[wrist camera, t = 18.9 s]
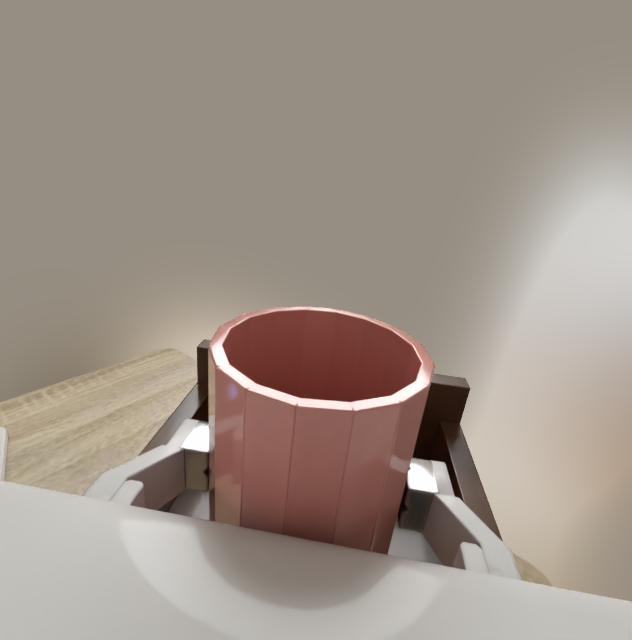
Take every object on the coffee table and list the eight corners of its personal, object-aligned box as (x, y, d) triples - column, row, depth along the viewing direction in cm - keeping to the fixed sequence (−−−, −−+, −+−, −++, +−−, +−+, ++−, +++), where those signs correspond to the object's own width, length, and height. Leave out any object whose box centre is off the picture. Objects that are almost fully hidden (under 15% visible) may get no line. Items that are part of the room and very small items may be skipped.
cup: (201, 528, 17) (197, 310, 13) (333, 493, 20) (363, 302, 16) (228, 714, 11) (236, 432, 7) (408, 630, 14) (485, 388, 10)
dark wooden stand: (415, 787, 22) (532, 518, 14) (142, 722, 23) (102, 442, 15) (400, 602, 31) (465, 377, 23) (206, 563, 32) (204, 338, 24)
